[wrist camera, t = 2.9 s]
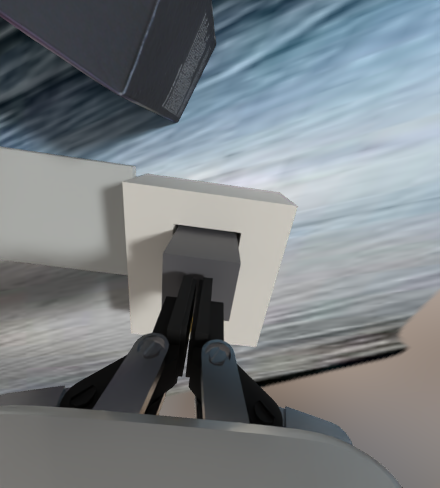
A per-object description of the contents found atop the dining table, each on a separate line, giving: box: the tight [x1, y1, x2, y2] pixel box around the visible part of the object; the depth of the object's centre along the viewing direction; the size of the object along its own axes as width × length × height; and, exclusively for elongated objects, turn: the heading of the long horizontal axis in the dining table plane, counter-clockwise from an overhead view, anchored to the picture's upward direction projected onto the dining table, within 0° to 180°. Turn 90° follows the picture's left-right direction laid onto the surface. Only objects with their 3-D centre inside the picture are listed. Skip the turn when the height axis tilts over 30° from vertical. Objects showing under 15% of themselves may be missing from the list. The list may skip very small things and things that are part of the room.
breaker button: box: [161, 225, 241, 321], centre depth 15 cm, size 4×4×6 cm
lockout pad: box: [0, 147, 136, 275], centre depth 20 cm, size 14×11×1 cm
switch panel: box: [122, 174, 298, 347], centre depth 19 cm, size 12×14×6 cm
